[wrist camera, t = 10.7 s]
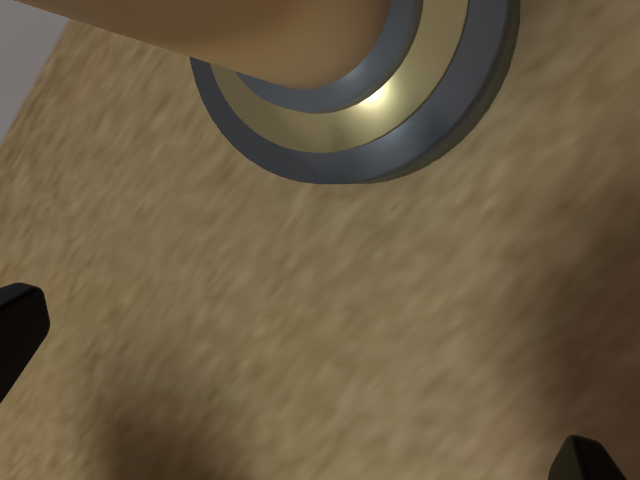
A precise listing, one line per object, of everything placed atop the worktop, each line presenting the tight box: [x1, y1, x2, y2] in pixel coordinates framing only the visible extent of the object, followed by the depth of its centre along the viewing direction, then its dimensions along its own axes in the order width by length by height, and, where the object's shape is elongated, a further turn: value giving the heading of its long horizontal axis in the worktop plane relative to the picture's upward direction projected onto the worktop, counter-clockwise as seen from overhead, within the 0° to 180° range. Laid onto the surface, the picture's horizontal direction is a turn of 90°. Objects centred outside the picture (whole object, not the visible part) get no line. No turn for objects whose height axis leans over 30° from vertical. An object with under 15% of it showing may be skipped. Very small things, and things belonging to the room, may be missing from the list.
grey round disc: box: [190, 0, 520, 184], centre depth 18 cm, size 11×11×3 cm
